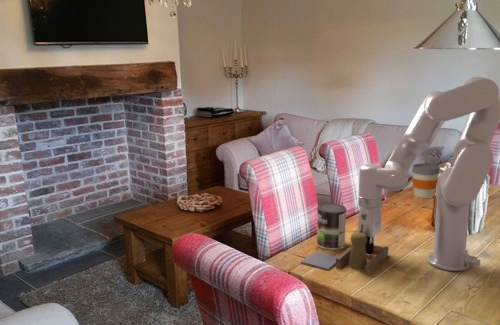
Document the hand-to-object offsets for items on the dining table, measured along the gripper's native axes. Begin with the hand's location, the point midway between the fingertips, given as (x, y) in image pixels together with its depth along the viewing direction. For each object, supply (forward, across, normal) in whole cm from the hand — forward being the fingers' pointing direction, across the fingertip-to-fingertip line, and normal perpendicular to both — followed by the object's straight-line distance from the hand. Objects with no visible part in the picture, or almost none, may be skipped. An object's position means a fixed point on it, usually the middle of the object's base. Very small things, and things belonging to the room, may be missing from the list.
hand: (368, 253), depth 155 cm
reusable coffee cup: (+1, +83, +3) cm, 83 cm away
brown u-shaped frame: (+1, -5, 0) cm, 5 cm away
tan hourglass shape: (+1, -9, 0) cm, 9 cm away
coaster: (+1, -12, +11) cm, 17 cm away
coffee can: (+1, +3, +15) cm, 15 cm away
